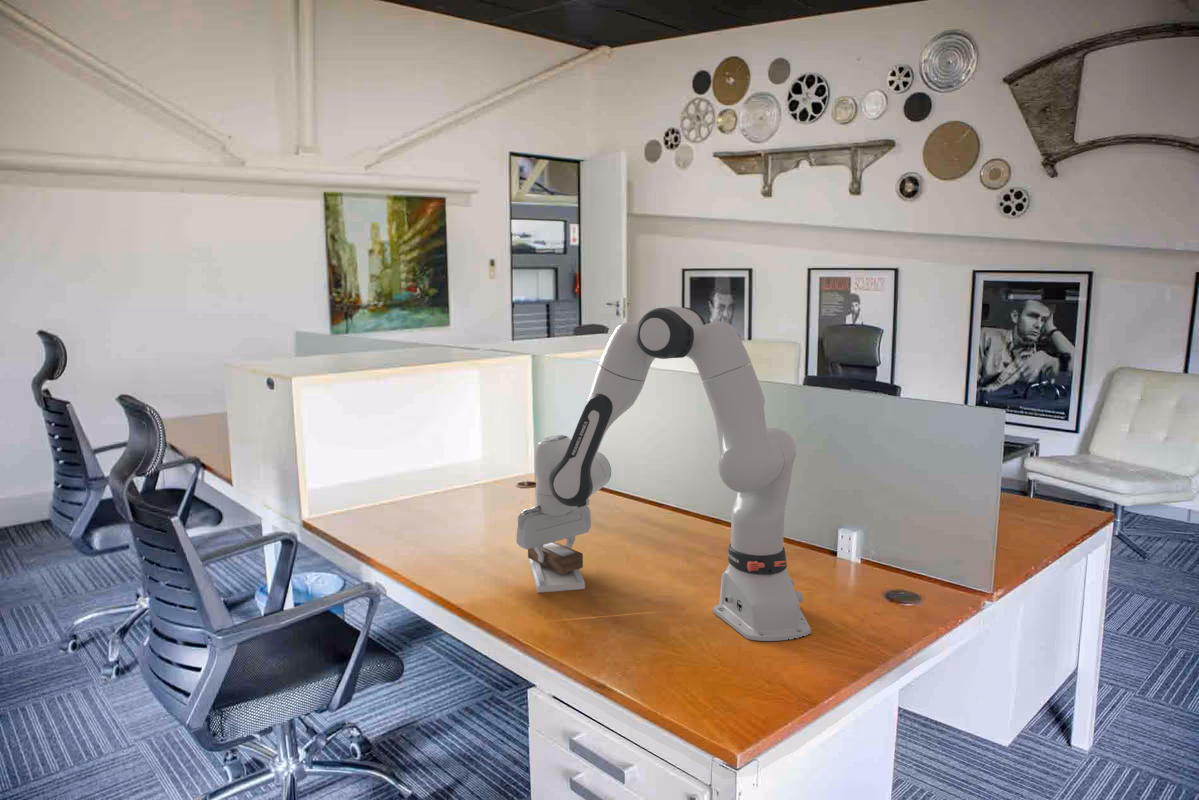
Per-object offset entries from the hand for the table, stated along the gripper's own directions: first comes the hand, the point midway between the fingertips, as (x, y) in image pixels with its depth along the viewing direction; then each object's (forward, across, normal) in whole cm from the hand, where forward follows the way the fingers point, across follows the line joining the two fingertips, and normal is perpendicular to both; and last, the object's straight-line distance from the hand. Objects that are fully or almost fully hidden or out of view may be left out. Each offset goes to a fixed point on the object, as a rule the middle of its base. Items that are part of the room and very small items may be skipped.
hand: (554, 557), depth 198 cm
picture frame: (+1, 0, 0) cm, 1 cm away
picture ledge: (+4, 0, 0) cm, 4 cm away
